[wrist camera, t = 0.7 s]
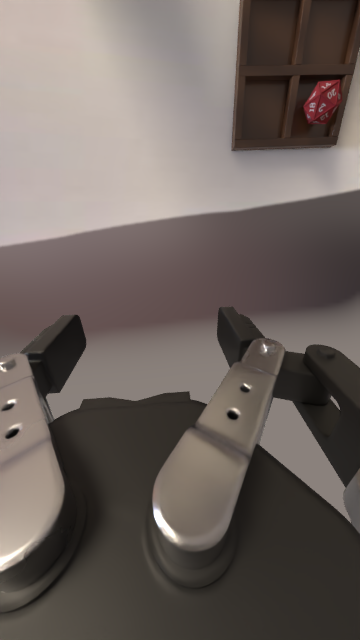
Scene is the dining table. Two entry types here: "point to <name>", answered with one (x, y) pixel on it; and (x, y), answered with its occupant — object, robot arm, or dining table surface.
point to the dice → (323, 102)
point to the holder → (291, 70)
